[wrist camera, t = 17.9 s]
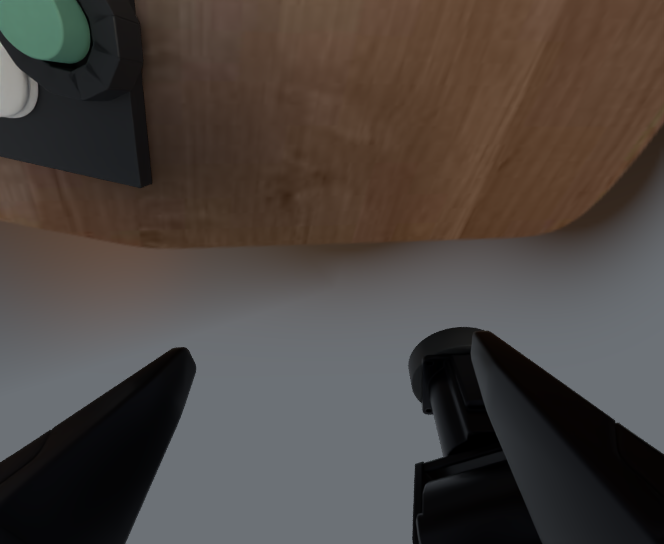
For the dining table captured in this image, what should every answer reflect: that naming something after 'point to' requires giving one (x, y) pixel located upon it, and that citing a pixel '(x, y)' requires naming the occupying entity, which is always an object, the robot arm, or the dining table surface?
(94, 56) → the black button base
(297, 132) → the dining table surface
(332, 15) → the dining table surface
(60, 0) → the button
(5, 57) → the chess piece
